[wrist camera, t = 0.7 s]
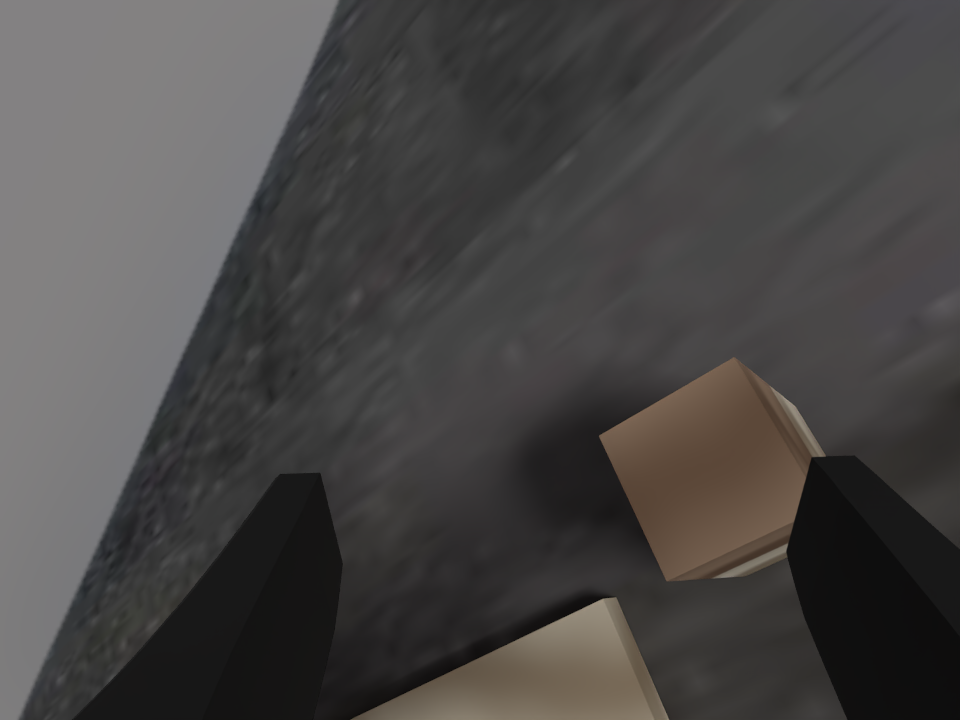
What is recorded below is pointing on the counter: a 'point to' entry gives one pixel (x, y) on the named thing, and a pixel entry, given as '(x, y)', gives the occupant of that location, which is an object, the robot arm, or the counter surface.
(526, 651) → the birch board
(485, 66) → the counter surface
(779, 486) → the block stack
